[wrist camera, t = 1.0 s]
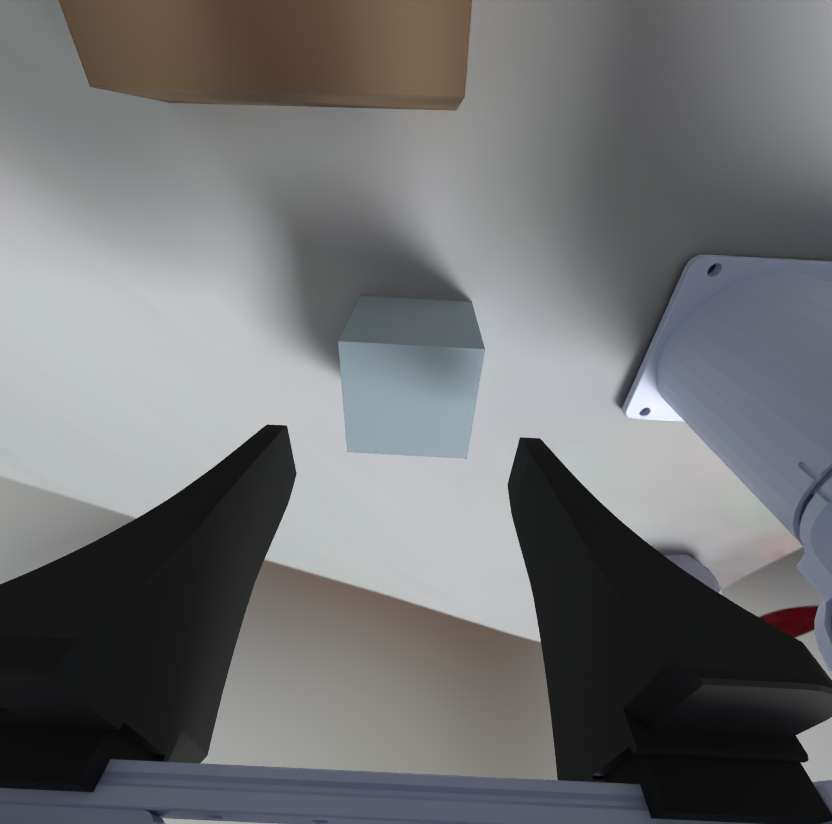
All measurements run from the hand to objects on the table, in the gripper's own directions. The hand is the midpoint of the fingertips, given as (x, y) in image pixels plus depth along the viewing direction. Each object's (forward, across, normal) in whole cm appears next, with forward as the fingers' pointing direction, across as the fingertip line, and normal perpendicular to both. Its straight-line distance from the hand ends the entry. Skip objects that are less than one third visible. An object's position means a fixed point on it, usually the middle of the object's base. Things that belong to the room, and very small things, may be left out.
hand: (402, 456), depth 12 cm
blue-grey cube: (+8, 0, 0) cm, 8 cm away
